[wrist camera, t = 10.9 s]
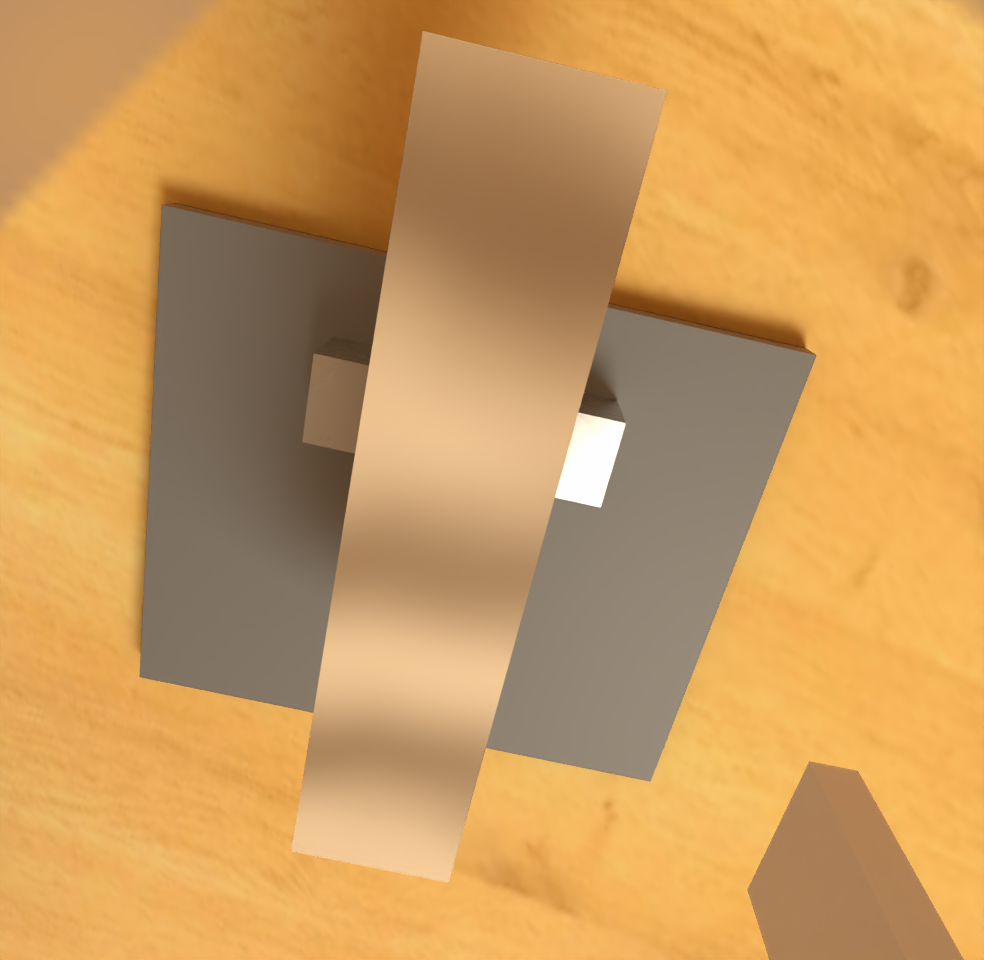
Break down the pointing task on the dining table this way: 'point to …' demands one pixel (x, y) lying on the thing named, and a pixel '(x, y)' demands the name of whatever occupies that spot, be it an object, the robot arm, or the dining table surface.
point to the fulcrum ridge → (341, 404)
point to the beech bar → (463, 434)
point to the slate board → (327, 475)
